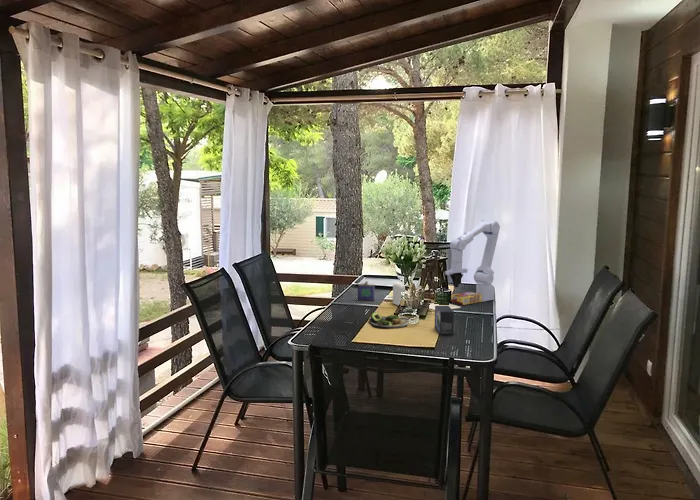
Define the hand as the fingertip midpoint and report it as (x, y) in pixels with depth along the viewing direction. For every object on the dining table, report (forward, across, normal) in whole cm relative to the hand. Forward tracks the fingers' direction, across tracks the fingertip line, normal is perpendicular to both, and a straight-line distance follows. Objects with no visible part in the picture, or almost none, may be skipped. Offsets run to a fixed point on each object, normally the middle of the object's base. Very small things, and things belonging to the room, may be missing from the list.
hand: (455, 287), depth 287 cm
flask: (+10, +36, -32) cm, 49 cm away
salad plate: (+10, +55, +10) cm, 56 cm away
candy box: (+8, -2, 0) cm, 8 cm away
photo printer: (+10, +27, -14) cm, 32 cm away
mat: (+10, +11, 0) cm, 14 cm away
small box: (+10, +41, +33) cm, 53 cm away
